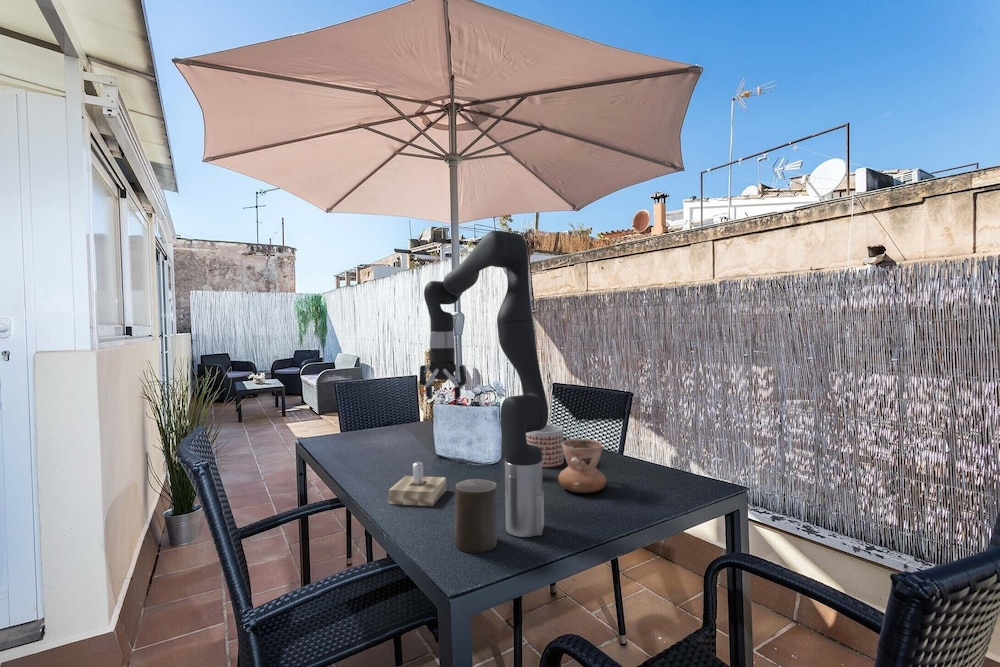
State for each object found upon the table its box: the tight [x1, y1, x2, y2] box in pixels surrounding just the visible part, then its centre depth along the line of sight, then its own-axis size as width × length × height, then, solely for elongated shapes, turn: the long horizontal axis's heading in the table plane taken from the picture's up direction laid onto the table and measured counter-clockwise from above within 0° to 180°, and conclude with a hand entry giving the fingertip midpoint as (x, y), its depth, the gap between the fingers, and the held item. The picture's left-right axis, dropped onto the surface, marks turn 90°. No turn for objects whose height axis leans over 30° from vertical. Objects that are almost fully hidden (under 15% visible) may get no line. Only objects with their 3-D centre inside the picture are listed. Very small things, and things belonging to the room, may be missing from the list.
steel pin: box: [412, 461, 424, 486], centre depth 142 cm, size 3×3×10 cm
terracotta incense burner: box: [557, 438, 607, 494], centre depth 147 cm, size 18×14×14 cm
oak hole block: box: [388, 475, 447, 507], centre depth 142 cm, size 13×13×4 cm
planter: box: [526, 423, 565, 469], centre depth 175 cm, size 14×14×13 cm
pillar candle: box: [454, 478, 498, 554], centre depth 111 cm, size 10×10×15 cm
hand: (443, 399), depth 148 cm, fingers open, 8 cm apart
